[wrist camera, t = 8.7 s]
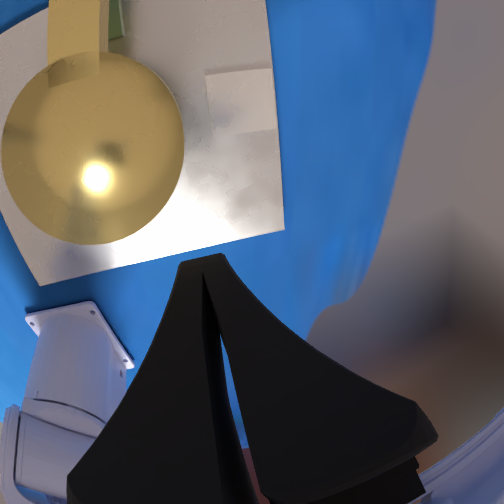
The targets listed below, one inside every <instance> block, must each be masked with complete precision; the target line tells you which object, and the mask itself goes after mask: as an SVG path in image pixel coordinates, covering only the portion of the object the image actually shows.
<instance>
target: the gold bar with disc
mask: <svg viewBox="0 0 504 504" xmlns="http://www.w3.org/2000/svg"><path fill="white" fill-rule="evenodd" d="M108 19H109V0H49V9H48V27H47V65H48V66H47V67H45V68H44V69H43V70H41V71H40V72H39V73H37V74H36V75H35V76H34V77H33V78H32V79H31V80H30V81H29V82H28V83H27V84H26V85H25V87H24V88H23V89H22V90H21V92H20V93H19V95H18V96H17V98H16V99H15V101H14V103H13V105H12V107H11V109H10V111H9V113H8V116H7V119H6V122H5V125H4V129H3V134H2V140H1V164H2V170H3V175H4V179H5V182H6V185H7V188H8V190H9V192H10V194H11V197H12V199H13V200H14V202H15V203H16V205H17V207H18V208H19V209H20V211H21V212H22V213H23V214H24V216H25V217H26V218H27V219H28V220H29V221H30V222H31V223H32V224H34V225H35V226H36V227H38V228H39V229H40V230H42V231H43V232H45V233H47V234H48V235H50V236H52V237H55V238H57V239H59V240H62V241H65V242H69V243H74V244H80V245H100V244H107V243H111V242H115V241H118V240H121V239H124V238H126V237H128V236H130V235H132V234H134V233H136V232H137V231H139V230H141V229H142V228H144V227H145V226H146V225H147V224H149V223H150V222H151V221H152V220H153V219H154V218H155V217H156V216H157V215H158V214H159V213H160V212H161V211H162V209H163V208H164V206H165V205H166V204H167V202H168V201H169V199H170V197H171V196H172V194H173V192H174V190H175V188H176V185H177V183H178V180H179V177H180V174H181V170H182V166H183V159H184V131H183V122H182V117H181V113H180V110H179V107H178V104H177V102H176V100H175V97H174V96H173V94H172V92H171V90H170V89H169V87H168V86H167V85H166V83H165V82H164V81H163V80H162V79H161V77H159V76H158V75H157V74H156V73H155V72H154V71H153V70H152V69H150V68H149V67H147V66H145V65H144V64H142V63H140V62H138V61H136V60H134V59H132V58H129V57H126V56H123V55H119V54H115V53H111V52H108Z"/></svg>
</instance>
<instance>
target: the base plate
mask: <svg viewBox="0 0 504 504" xmlns="http://www.w3.org/2000/svg"><path fill="white" fill-rule="evenodd" d="M48 9H49V7H48V8H46V9H44V10H42V11H40V12H38V13H36V14H34V15H32V16H31V17H29V18H27V19H25V20H23V21H22V22H20V23H18V24H16V25H15V26H13V27H11V28H10V29H8V30H7V31H5V32H3V33H2V34H0V210H1V213H2V215H3V217H4V220H5V222H6V224H7V226H8V228H9V230H10V232H11V235H12V237H13V239H14V241H15V243H16V245H17V246H18V248H19V250H20V252H21V254H22V256H23V258H24V260H25V261H26V263H27V265H28V267H29V269H30V270H31V272H32V274H33V276H34V277H35V279H36V281H37V282H38V284H39V286H43V285H47V284H51V283H55V282H59V281H63V280H67V279H71V278H75V277H80V276H84V275H88V274H92V273H96V272H100V271H104V270H108V269H113V268H117V267H121V266H125V265H129V264H134V263H138V262H142V261H146V260H151V259H155V258H159V257H163V256H168V255H172V254H176V253H181V252H185V251H190V250H194V249H198V248H203V247H207V246H212V245H216V244H221V243H225V242H229V241H234V240H238V239H243V238H248V237H252V236H257V235H261V234H266V233H270V232H275V231H280V230H284V213H283V195H282V178H281V163H280V148H279V135H278V122H277V110H276V98H275V87H274V76H273V66H272V56H271V46H270V37H269V28H268V20H267V11H266V3H265V0H109V19H108V52H111V53H115V54H119V55H123V56H126V57H129V58H132V59H134V60H136V61H138V62H140V63H142V64H144V65H145V66H147V67H149V68H150V69H152V70H153V71H154V72H155V73H156V74H157V75H158V76H159V77H161V79H162V80H163V81H164V82H165V83H166V85H167V86H168V87H169V89H170V90H171V92H172V94H173V96H174V97H175V100H176V102H177V104H178V107H179V110H180V113H181V117H182V122H183V131H184V159H183V166H182V170H181V174H180V177H179V180H178V183H177V185H176V188H175V190H174V192H173V194H172V196H171V197H170V199H169V201H168V202H167V204H166V205H165V206H164V208H163V209H162V211H161V212H160V213H159V214H158V215H157V216H156V217H155V218H154V219H153V220H152V221H151V222H150V223H149V224H147V225H146V226H145V227H144V228H142V229H141V230H139V231H137V232H136V233H134V234H132V235H130V236H128V237H126V238H124V239H121V240H118V241H115V242H111V243H107V244H100V245H80V244H74V243H69V242H65V241H62V240H59V239H57V238H55V237H52V236H50V235H48V234H47V233H45V232H43V231H42V230H40V229H39V228H38V227H36V226H35V225H34V224H32V223H31V222H30V221H29V220H28V219H27V218H26V217H25V216H24V214H23V213H22V212H21V211H20V209H19V208H18V207H17V205H16V203H15V202H14V200H13V199H12V197H11V194H10V192H9V190H8V188H7V185H6V182H5V179H4V175H3V170H2V164H1V140H2V134H3V129H4V125H5V122H6V119H7V116H8V113H9V111H10V109H11V107H12V105H13V103H14V101H15V99H16V98H17V96H18V95H19V93H20V92H21V90H22V89H23V88H24V87H25V85H26V84H27V83H28V82H29V81H30V80H31V79H32V78H33V77H34V76H35V75H36V74H37V73H39V72H40V71H41V70H43V69H44V68H45V67H47V66H48V65H47V27H48Z"/></svg>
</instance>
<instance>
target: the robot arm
mask: <svg viewBox="0 0 504 504" xmlns="http://www.w3.org/2000/svg"><path fill="white" fill-rule="evenodd" d="M91 310H93V311H91ZM25 320H26V321H27V323H28V324H29V325H30V327H31V328H32V329H33V331H34V332H35V333H36V334H37V336H38V341H37V344H36V348H35V352H34V355H33V359H32V363H31V367H30V372H29V376H28V381H27V385H26V390H25V395H24V399H23V403H22V407H21V411H19V409H20V407H19V406H17V405H15V404H13V405H12V407H8V408H6V411H5V416H4V421H3V428H2V435H1V444H0V474H1V492H2V494H4V499H5V501H6V503H7V504H259V502H258V499H257V496H256V493H255V490H254V487H253V484H252V481H251V478H250V474H249V472H248V468H247V465H246V461H245V458H244V455H243V451H242V448H241V444H240V441H239V437H238V434H237V430H236V426H235V423H234V419H233V415H232V411H231V407H230V402H229V397H228V392H227V385H226V377H225V370H224V362H223V354H222V347H221V339H220V335H221V338H222V341H223V344H224V346H225V349H226V352H227V355H228V359H229V363H230V368H231V372H232V377H233V381H234V385H235V390H236V394H237V398H238V403H239V407H240V411H241V415H242V420H243V424H244V428H245V432H246V436H247V440H248V444H249V448H250V452H251V456H252V460H253V464H254V468H255V472H256V475H257V479H258V483H259V487H260V491H261V493H262V494H263V495H264V496H265V497H267V499H268V500H269V502H270V504H413V503H414V502H416V501H418V500H419V499H421V502H420V503H417V504H504V407H503V409H501V410H500V411H499V412H498V413H497V414H496V415H495V418H494V419H493V420H492V421H491V422H490V423H488V424H487V425H486V426H485V427H484V428H483V429H482V430H480V431H479V432H478V433H477V434H476V435H474V436H473V437H472V438H471V439H469V440H468V441H467V442H466V443H464V444H463V445H462V446H460V447H459V448H458V449H456V450H455V451H454V452H452V453H451V454H450V455H448V456H447V457H445V458H444V459H442V460H441V461H440V462H438V463H436V464H435V465H434V466H432V467H430V468H429V469H427V470H426V471H424V472H422V473H421V474H419V475H418V474H417V472H416V469H418V468H419V464H418V462H417V460H416V458H415V456H416V455H417V454H419V453H420V452H422V451H423V450H425V449H426V448H427V447H429V446H431V445H432V444H433V443H435V442H436V441H437V439H438V434H437V432H436V430H435V429H434V427H433V425H432V423H431V421H430V420H429V419H428V417H427V416H426V415H425V413H424V412H423V411H422V409H421V408H420V407H419V406H418V404H417V403H416V402H415V401H413V400H410V399H408V398H406V397H403V396H401V395H398V394H396V393H394V392H391V391H389V390H387V389H385V388H383V387H381V386H379V385H376V384H374V383H372V382H371V381H369V380H367V379H365V378H363V377H361V376H359V375H357V374H355V373H354V372H352V371H350V370H348V369H347V368H345V367H344V366H342V365H340V364H339V363H337V362H335V361H334V360H332V359H330V358H329V357H328V356H326V355H324V354H323V353H321V352H320V351H318V350H316V349H315V348H314V347H313V346H311V345H310V344H309V343H307V342H306V341H304V340H303V339H302V338H300V337H299V336H298V335H297V334H295V333H294V332H293V331H292V330H290V329H289V328H288V327H287V326H286V325H284V324H283V323H282V322H281V321H280V320H279V319H278V318H277V317H275V316H274V315H273V314H272V313H271V312H270V311H269V310H268V309H267V308H266V307H265V306H264V305H263V304H262V303H261V302H260V301H259V300H258V299H257V298H256V297H255V295H254V294H253V293H252V292H251V291H250V290H249V289H248V288H247V286H246V285H245V284H244V283H243V282H242V280H241V279H240V278H239V277H238V275H237V274H236V273H235V271H234V270H233V268H232V267H231V265H230V264H229V262H228V261H227V259H226V257H225V255H224V254H222V253H218V254H213V255H209V256H205V257H200V258H196V259H191V260H187V261H183V262H181V263H180V264H179V266H178V270H177V274H176V278H175V281H174V285H173V288H172V291H171V294H170V297H169V300H168V303H167V306H166V308H165V311H164V314H163V317H162V319H161V322H160V324H159V326H158V329H157V331H156V334H155V336H154V339H153V341H152V343H151V345H150V348H149V350H148V352H147V354H146V356H145V358H144V360H143V362H142V364H141V366H140V368H139V370H138V372H137V374H136V376H135V378H134V379H133V381H132V383H131V385H130V386H129V388H128V390H127V392H126V369H131V368H134V362H133V360H132V359H131V358H130V356H129V355H128V353H127V352H126V351H125V349H124V348H123V346H122V345H121V343H120V342H119V340H118V339H117V337H116V336H115V334H114V333H113V331H112V330H111V328H110V327H109V325H108V324H107V322H106V321H105V319H104V317H103V316H102V314H101V312H100V311H99V309H98V308H97V306H96V304H95V303H94V302H92V301H86V302H82V303H77V304H72V305H67V306H63V307H58V308H53V309H48V310H43V311H38V312H33V313H28V314H26V316H25Z"/></svg>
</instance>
